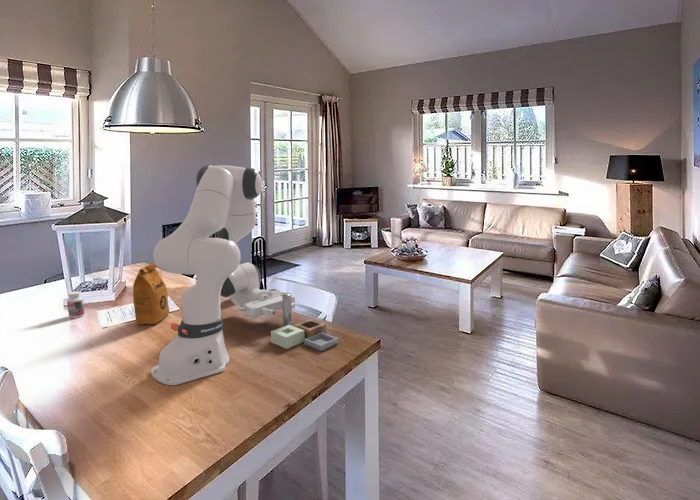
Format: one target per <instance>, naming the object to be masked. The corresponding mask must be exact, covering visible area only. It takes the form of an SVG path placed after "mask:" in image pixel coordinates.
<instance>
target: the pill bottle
mask: <svg viewBox="0 0 700 500" xmlns="http://www.w3.org/2000/svg"><path fill="white" fill-rule="evenodd" d="M67 296H68V298H67V299H66V303H67V304H66V305H67V311H68V317H69V318H71V319H79V318H82V317H84V316H85V312H86V311H85V305H84V298H83V297H82V296H81V291H76V290H75V291H71V292H68V295H67Z"/></svg>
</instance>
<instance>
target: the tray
mask: <svg viewBox="0 0 700 500" xmlns="http://www.w3.org/2000/svg"><path fill="white" fill-rule="evenodd" d="M303 343H304V344H303V345H304V346H305V347H309V348H311V349H313V350H316V351H319V352H324V351H325V350H327V349H330V348H332V347H334V346H337V345H339V338H338V337H336V336H332V335H330V334H328V333H327V334H325V333H322V332H321V333H318V334H316V335H313V336H311V337H308V338H306V339H304V342H303Z"/></svg>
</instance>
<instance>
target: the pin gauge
mask: <svg viewBox="0 0 700 500" xmlns="http://www.w3.org/2000/svg"><path fill="white" fill-rule="evenodd" d="M291 294H292V293H290V292H286V293H284V294H282V301H283V309H282V322H283V325H282V327H284V326H287V325H291V326H293V309H292V298H291Z"/></svg>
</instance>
